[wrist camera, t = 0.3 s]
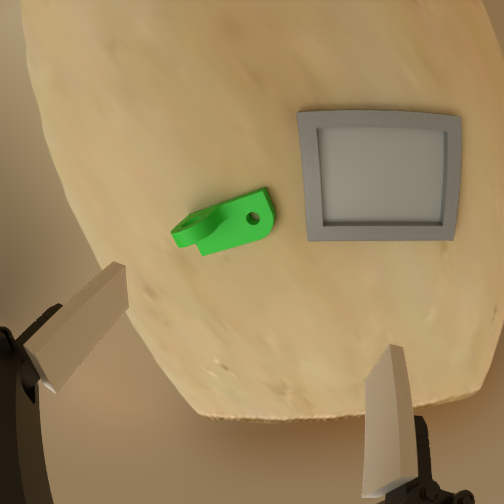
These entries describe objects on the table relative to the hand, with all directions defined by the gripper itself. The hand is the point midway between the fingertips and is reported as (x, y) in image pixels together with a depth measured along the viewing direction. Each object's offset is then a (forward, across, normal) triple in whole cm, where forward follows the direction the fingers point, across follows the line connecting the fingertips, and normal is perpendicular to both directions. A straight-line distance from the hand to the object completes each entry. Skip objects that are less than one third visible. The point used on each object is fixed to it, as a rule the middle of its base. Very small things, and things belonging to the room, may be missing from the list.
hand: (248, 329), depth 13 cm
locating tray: (+26, +10, +4) cm, 28 cm away
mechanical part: (+27, -8, -7) cm, 29 cm away
